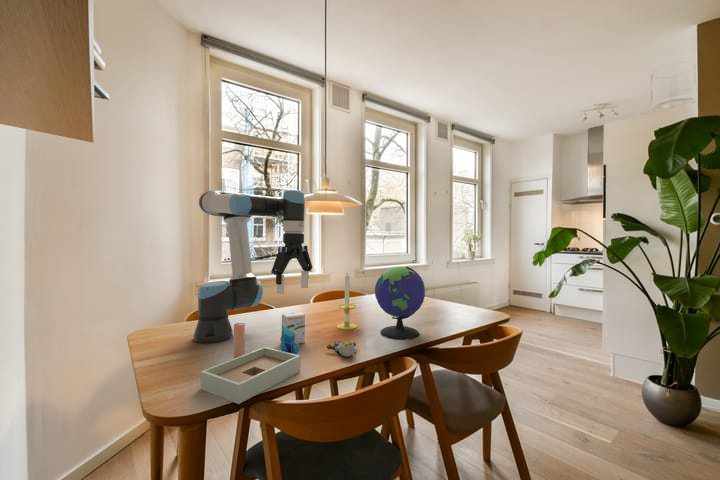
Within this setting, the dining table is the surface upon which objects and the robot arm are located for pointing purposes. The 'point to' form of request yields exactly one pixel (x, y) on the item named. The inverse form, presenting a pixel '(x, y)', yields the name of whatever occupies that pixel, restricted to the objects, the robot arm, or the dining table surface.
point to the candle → (346, 308)
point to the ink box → (295, 325)
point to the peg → (239, 339)
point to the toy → (343, 348)
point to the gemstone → (288, 341)
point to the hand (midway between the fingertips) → (293, 290)
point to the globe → (400, 299)
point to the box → (249, 374)
